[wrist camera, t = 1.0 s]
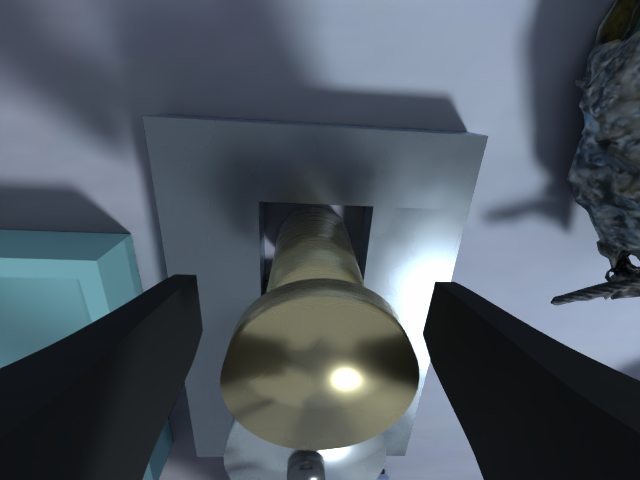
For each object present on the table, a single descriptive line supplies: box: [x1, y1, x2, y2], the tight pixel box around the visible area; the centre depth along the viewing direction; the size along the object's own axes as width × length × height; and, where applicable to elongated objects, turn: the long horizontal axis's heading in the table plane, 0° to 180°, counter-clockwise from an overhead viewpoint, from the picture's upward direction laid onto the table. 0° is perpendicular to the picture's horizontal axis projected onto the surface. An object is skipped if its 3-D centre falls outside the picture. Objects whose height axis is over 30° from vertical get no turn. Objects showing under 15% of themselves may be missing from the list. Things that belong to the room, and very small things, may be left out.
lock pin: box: [220, 207, 420, 451], centre depth 11 cm, size 4×4×8 cm
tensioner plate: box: [142, 114, 488, 480], centre depth 13 cm, size 18×12×5 cm, turn 177°
